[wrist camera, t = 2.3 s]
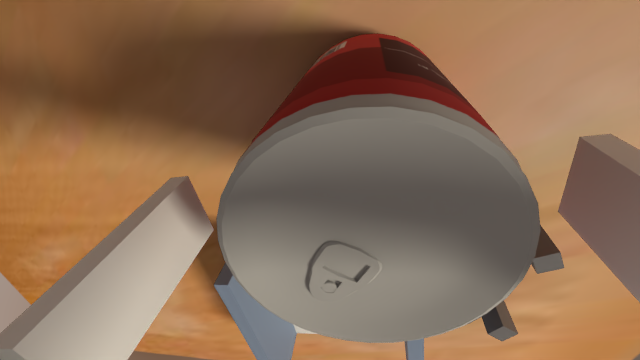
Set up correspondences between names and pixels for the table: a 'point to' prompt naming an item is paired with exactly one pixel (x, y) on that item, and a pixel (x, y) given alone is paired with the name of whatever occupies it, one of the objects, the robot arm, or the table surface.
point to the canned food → (377, 202)
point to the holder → (272, 323)
